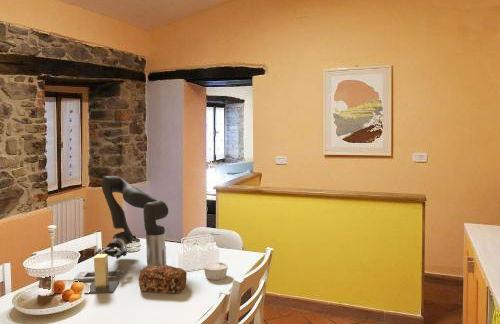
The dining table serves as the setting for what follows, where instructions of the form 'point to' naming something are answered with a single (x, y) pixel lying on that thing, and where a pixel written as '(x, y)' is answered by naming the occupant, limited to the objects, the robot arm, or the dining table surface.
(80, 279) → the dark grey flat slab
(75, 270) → the dining table surface
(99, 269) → the pale yellow block
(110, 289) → the rubber mat
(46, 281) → the figurine
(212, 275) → the ramekin
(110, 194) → the robot arm
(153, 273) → the bread
